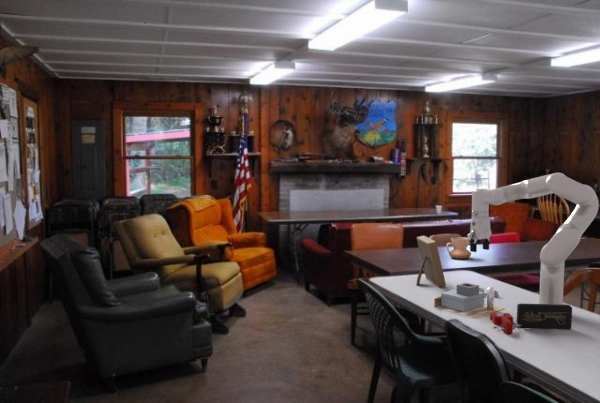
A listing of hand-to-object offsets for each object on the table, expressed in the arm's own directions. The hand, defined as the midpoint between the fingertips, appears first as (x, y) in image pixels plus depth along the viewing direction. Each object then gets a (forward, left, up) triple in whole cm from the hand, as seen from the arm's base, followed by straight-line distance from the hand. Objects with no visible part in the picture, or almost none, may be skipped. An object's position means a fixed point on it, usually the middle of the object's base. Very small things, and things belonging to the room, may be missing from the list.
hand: (479, 250), depth 249 cm
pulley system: (+6, -12, -26) cm, 30 cm away
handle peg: (-12, +10, -24) cm, 29 cm away
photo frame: (+42, -14, -26) cm, 52 cm away
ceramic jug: (+73, -89, -26) cm, 119 cm away
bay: (-5, +15, -26) cm, 30 cm away
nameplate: (-38, +12, -26) cm, 47 cm away
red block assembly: (-28, +25, -26) cm, 45 cm away
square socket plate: (-1, +15, -24) cm, 28 cm away
